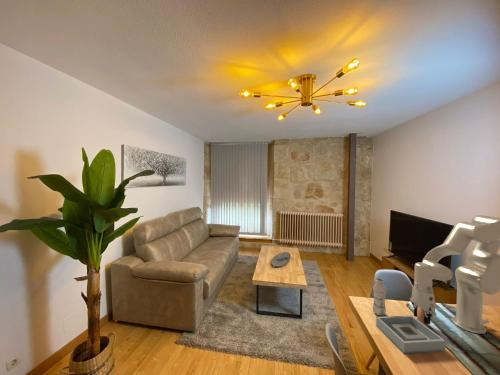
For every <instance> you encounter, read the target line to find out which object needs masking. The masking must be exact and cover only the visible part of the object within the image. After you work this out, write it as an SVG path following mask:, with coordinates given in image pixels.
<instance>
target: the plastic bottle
mask: <svg viewBox="0 0 500 375" xmlns="http://www.w3.org/2000/svg"><path fill="white" fill-rule="evenodd" d="M384 284H385V282H384V279H383V278H376V280H375V283H374V285H373V286H372V290H373V303H372V311H373V313H374V314H376V315H378V316H380V317H384V316H385V315H386V313H387V307H386V302H385V301H386V294H387V288H386V286H385V285H384Z"/></svg>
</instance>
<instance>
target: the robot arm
mask: <svg viewBox="0 0 500 375" xmlns="http://www.w3.org/2000/svg"><path fill="white" fill-rule="evenodd" d="M472 241H475V243H474V244H473V246H472V247H471V250H470V252H469V253H468V256H467V260H468V262H469V263H470V264H472V265H473V266H476V267H477V268H475V267H472V266H470V265H460V266H458V267H457V268H456V269H455V271H454V273H453V271H452V270H451V268H449V267H447V266H445V265H443V264H441V263H439V262H440V260H442V258H444V257H448V256H454V255H455V256H456V255H463V254H464V253H465V251H466V250H467V248H468V247H469V245H470V243H471V242H472ZM499 250H500V217H497V216H496V217H495V216H491V215H490V216H489V215H484V214H483V215H475V216H473V217H472V219H471V222H467V221H459V222H457V223H456V224H454V226H453V227H452V229H451V231H450V232H449V234H448V235H447V237H446V238H445V240H444V241H443V243H442V244H440V245H438V246H435V247H433V248H432V249H431V250H429V251H428V252H427V253H426V255H424V257H423V259H422V261H421V262H415V264H414V274H413V275H414V276H413V287H412V290H411V297H409V300H410V303H411V305H412V308H413V317H414V318H417V306H418V307H420V308H421V309H423V310H424V313H425V316H424V324H427V325H431V319H432V317H436V316H438V315H437V313H436V301H435V300H436V298H435V294H434V289H433V280H436V281H437V280H438V281H442V282H449V281H450V280H452V279H453V278H454V275H455V281H456V289H457V290H456V312H455V313H456V314H455V315H456V316H453V317H452V318H451V320H452V322H453V324H454V325H455V326H457V327H459V328H461V329H463V330H464V331H468V332H469V333H474V334H477V335H478V334H479V335H480V334H481V335H482V334H483V335H484V334H486V333H487V328H486V327H485V326H484V325H486V324H490V320H489V319H487V318H483V308H484V306H483V304H484V295H483V293H484V294H485V295H486V294H487V295H489V296H491V295H492V296H493V295H497V294H499V292H500V254H499ZM478 268H480V269H483V270H484V271H482V270H480V269H478Z"/></svg>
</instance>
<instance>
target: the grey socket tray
mask: <svg viewBox="0 0 500 375" xmlns="http://www.w3.org/2000/svg"><path fill="white" fill-rule="evenodd" d="M375 319H376V320H375V324H376V325H375V327H377V329H378V330H379V331H380V332H381V333H382V334H383V335H384V336H385V338H387V339H388V340H389V341H390V343H392V344H393V345H394V346H395V347H396V348H397V349H398V350H399V351H400V352H401V353H402V354H403V355H408V354H409V355H410V354H423V353H424V354H425V353H442V352H446V340H445V339H444V338H443V337H441V336H440V335H438V334H437V333H436V332H435V331H433V330H432V329H431V328H429V327H428V326H425V325H424V324H422V323H421V322H420V321H418V320H417V317H415V316H414V315H412V314H411V315H391V316H390V315H389V316H376V318H375Z"/></svg>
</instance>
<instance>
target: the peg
mask: <svg viewBox="0 0 500 375" xmlns="http://www.w3.org/2000/svg"><path fill="white" fill-rule="evenodd" d="M424 316H425V313H424V310H423V309H421V308H420V307H418V306H417V317H416V319H417V320H418V321H420V322H421V323H422V324H424ZM424 325H425V326H427V325H428V324H424ZM427 327H428V326H427Z"/></svg>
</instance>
